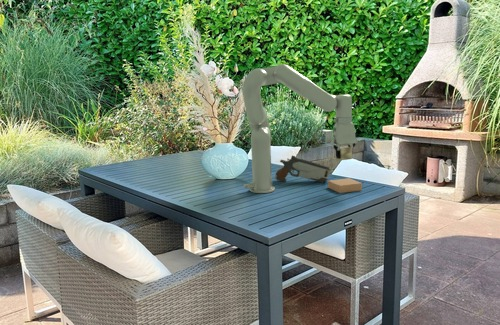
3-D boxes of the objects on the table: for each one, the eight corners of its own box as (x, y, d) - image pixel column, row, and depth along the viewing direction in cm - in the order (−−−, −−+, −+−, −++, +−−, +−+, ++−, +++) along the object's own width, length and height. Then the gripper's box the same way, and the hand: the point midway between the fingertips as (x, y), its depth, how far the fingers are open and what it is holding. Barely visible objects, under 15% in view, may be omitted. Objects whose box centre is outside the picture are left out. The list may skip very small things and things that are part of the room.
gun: (323, 194, 228) (331, 167, 224) (273, 179, 231) (281, 153, 228) (323, 191, 232) (331, 165, 229) (275, 177, 236) (282, 151, 233)
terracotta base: (339, 193, 205) (339, 185, 204) (328, 188, 216) (327, 180, 215) (361, 191, 208) (361, 183, 208) (348, 185, 220) (348, 178, 219)
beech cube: (341, 160, 206) (341, 148, 205) (336, 158, 211) (336, 147, 210) (352, 159, 207) (351, 147, 206) (346, 157, 213) (346, 146, 212)
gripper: (331, 122, 200) (332, 160, 203) (363, 119, 205) (363, 157, 208) (324, 121, 207) (324, 158, 210) (355, 118, 212) (355, 154, 215)
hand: (344, 157), depth 209 cm, fingers closed on beech cube, 5 cm apart
